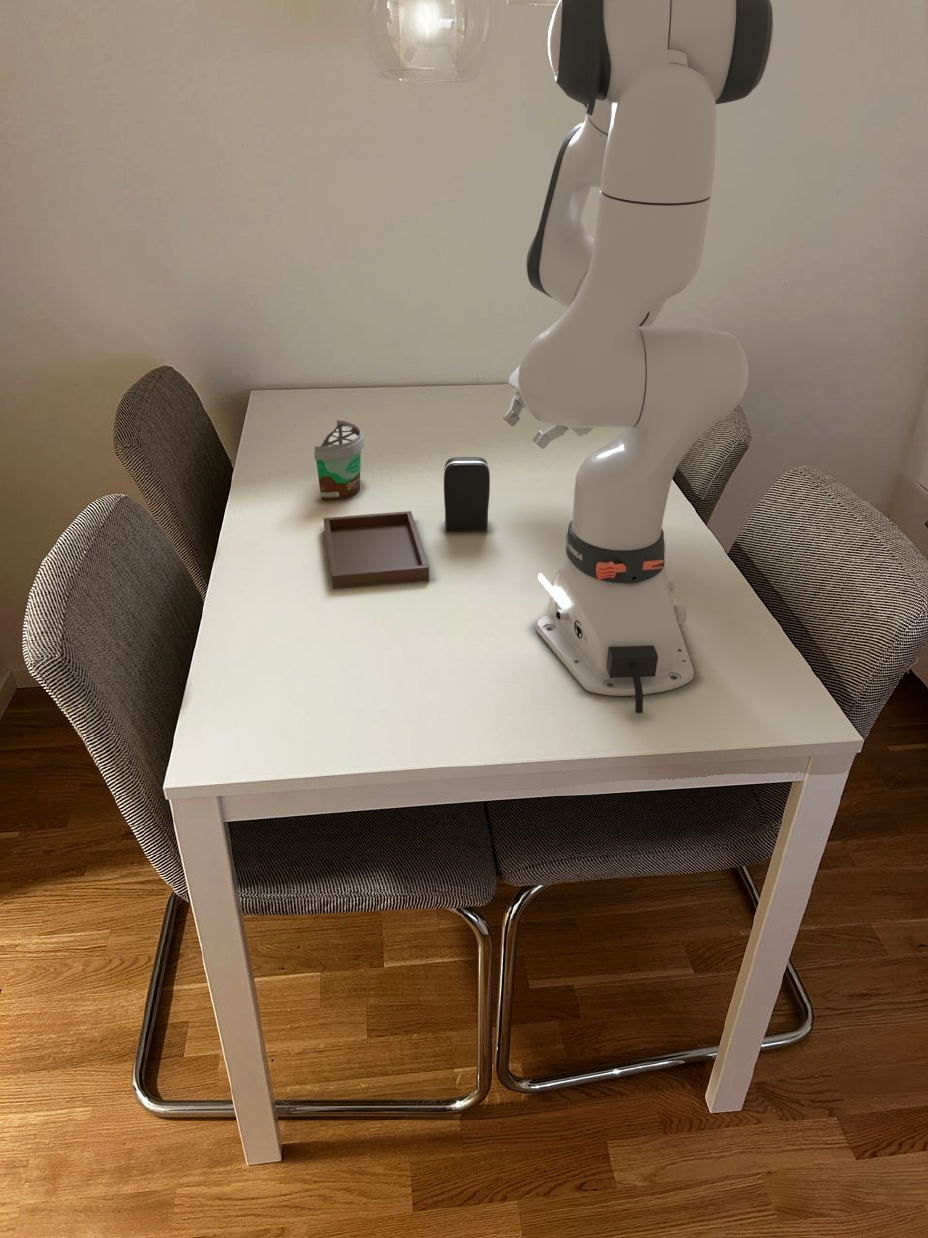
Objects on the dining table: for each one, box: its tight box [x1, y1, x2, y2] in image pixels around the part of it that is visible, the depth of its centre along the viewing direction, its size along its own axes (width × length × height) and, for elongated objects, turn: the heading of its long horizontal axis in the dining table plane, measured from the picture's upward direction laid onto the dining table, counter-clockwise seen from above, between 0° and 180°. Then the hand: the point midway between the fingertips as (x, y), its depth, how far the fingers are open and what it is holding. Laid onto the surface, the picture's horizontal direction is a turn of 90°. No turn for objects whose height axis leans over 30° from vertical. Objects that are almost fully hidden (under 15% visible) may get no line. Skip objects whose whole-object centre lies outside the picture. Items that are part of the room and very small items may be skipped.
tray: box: [323, 510, 430, 590], centre depth 139 cm, size 18×14×2 cm
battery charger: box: [443, 456, 491, 532], centre depth 144 cm, size 7×4×11 cm, turn 93°
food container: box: [314, 419, 366, 502], centre depth 154 cm, size 12×6×10 cm, turn 168°
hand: (522, 433), depth 142 cm, fingers open, 8 cm apart
